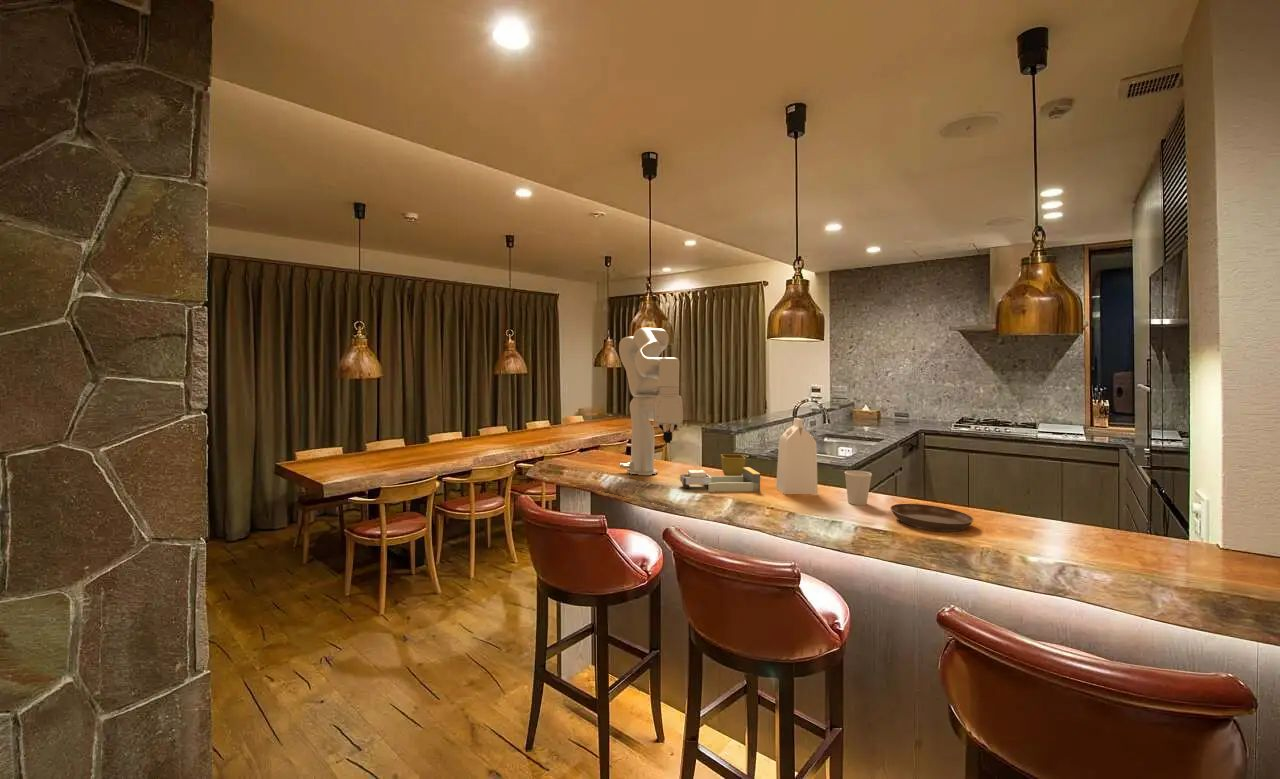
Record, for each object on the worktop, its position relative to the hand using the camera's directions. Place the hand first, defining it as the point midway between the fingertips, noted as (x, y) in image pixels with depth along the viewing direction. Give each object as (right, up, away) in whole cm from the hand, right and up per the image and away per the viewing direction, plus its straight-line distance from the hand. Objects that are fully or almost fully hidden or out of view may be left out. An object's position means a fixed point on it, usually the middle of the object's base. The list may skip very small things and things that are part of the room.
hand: (667, 442), depth 190 cm
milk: (+46, -17, -1) cm, 49 cm away
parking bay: (+23, -17, +3) cm, 28 cm away
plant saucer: (+73, -19, -40) cm, 85 cm away
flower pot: (+27, -17, +20) cm, 38 cm away
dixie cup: (+61, -18, -18) cm, 66 cm away
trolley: (+11, -16, +2) cm, 20 cm away
